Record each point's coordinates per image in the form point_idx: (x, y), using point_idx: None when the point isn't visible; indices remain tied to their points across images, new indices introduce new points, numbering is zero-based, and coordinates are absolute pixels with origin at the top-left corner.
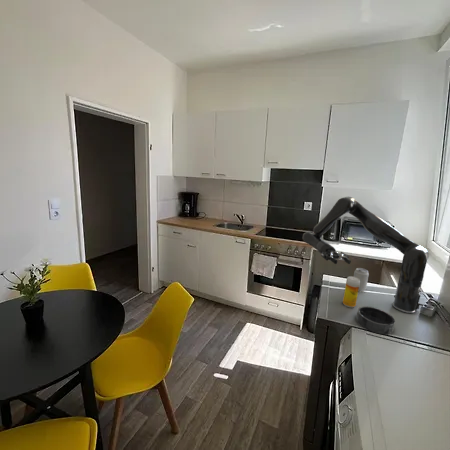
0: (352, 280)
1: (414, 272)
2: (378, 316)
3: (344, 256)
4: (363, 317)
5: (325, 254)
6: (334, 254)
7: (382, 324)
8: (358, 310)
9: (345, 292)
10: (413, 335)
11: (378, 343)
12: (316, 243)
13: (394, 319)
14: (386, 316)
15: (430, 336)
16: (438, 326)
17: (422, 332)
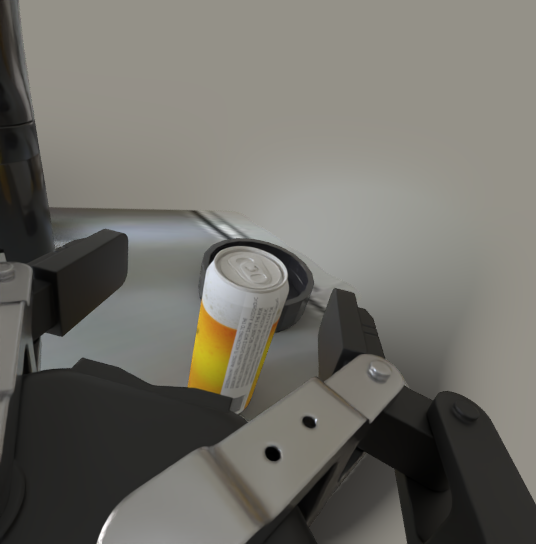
0: (281, 266)
1: (25, 59)
2: None
3: (16, 286)
4: (313, 280)
5: (524, 510)
6: (164, 432)
7: (286, 250)
8: (295, 300)
9: (265, 357)
10: (199, 239)
11: (317, 269)
12: None
13: (224, 240)
14: (209, 263)
15: (162, 222)
16: (76, 214)
17: (159, 231)
